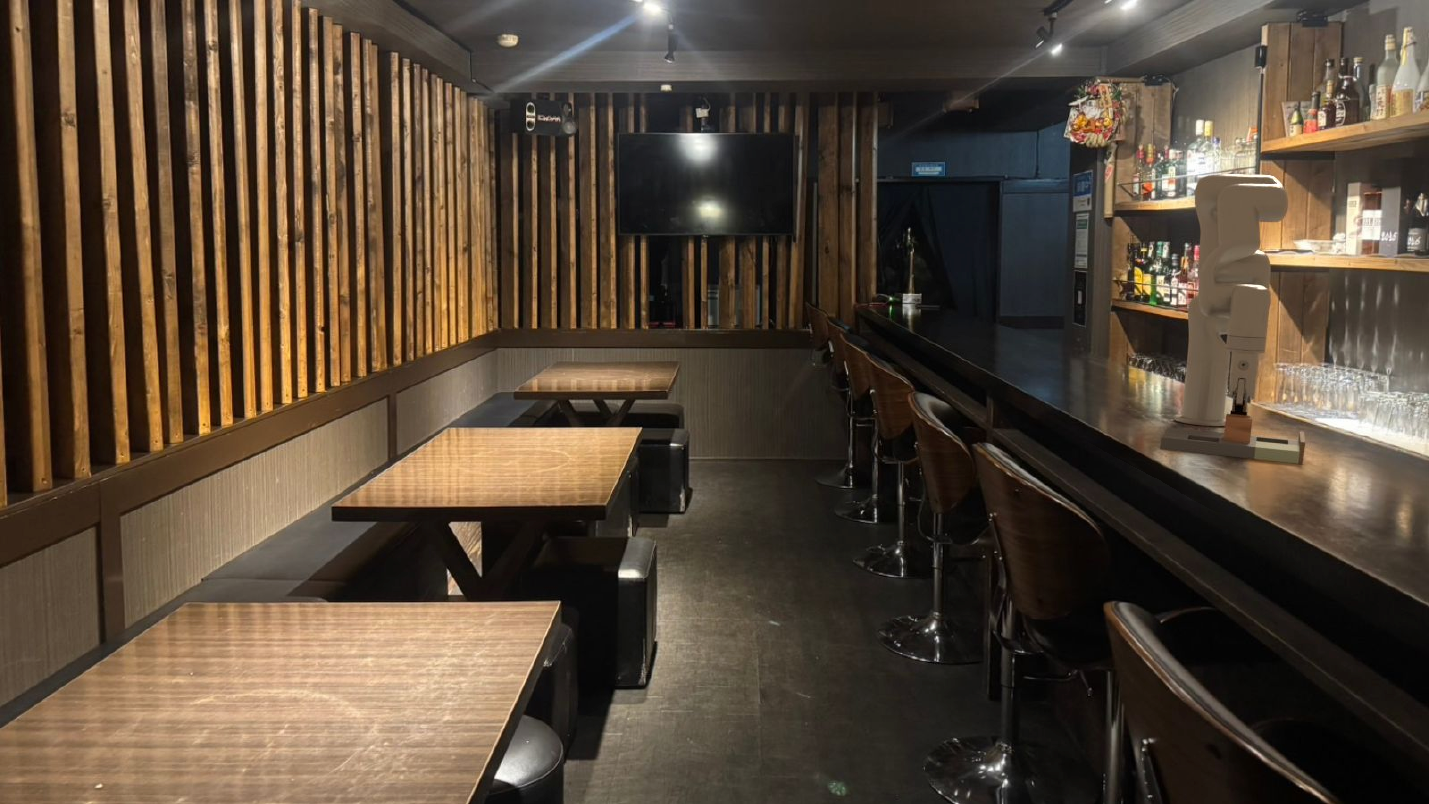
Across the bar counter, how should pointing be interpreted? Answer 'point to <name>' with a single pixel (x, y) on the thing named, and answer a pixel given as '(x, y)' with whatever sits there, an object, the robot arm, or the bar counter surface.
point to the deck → (1234, 445)
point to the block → (1238, 428)
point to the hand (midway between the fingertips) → (1236, 429)
